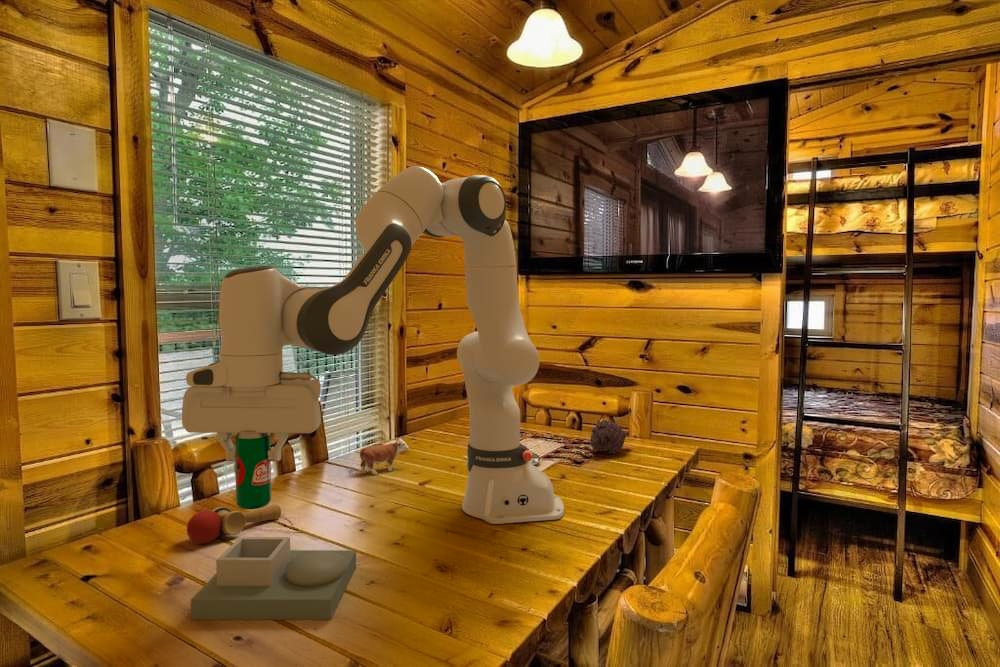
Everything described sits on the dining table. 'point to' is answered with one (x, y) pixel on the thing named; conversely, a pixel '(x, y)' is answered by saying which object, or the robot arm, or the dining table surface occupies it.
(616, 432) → the pine cone
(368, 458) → the bull figurine
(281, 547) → the grey desk organizer tray
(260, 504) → the soda can
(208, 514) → the kendama
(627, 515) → the dining table surface
